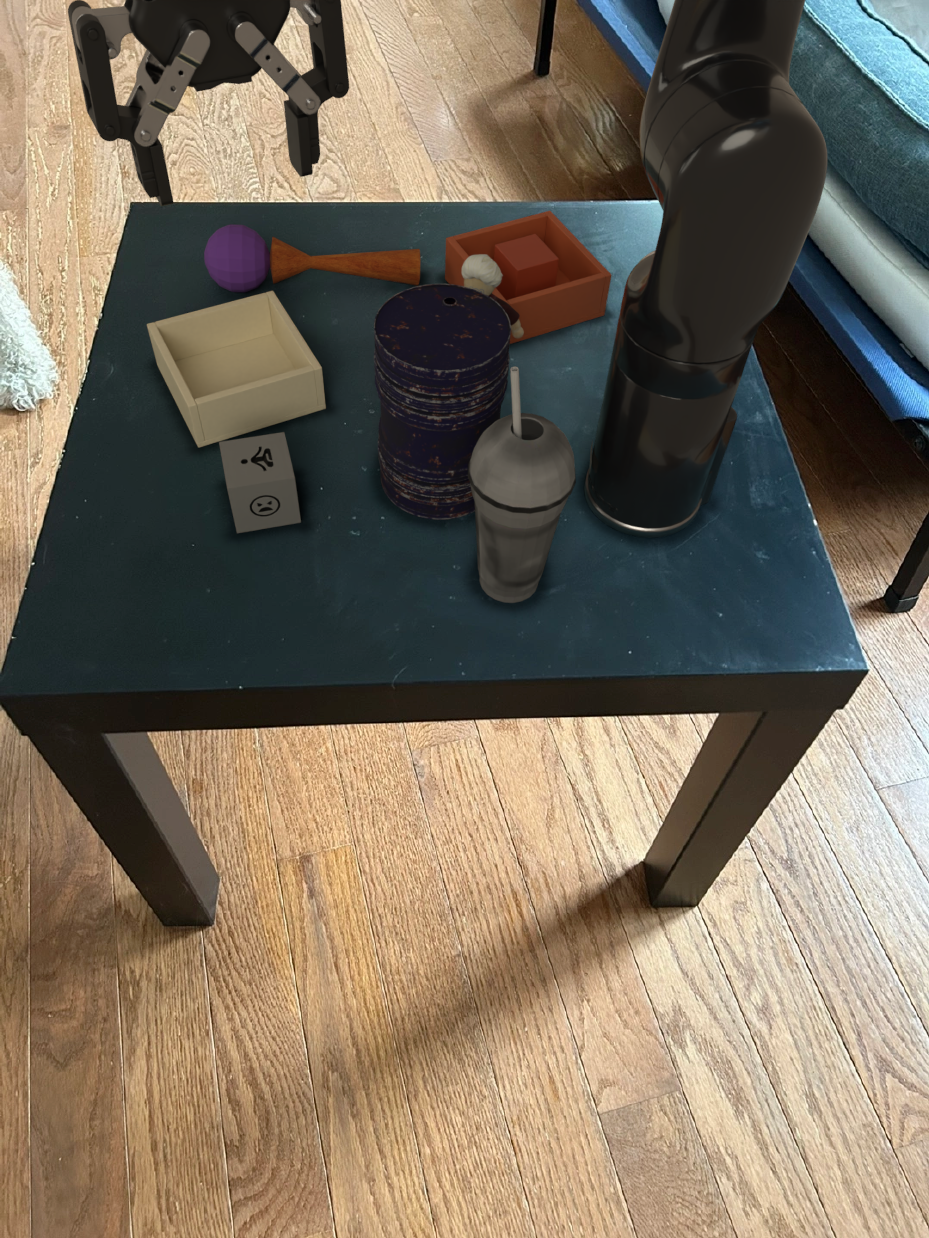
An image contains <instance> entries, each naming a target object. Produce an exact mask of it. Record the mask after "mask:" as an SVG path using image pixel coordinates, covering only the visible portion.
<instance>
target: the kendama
mask: <svg viewBox="0 0 929 1238" xmlns="http://www.w3.org/2000/svg"><path fill="white" fill-rule="evenodd" d="M203 255H204V256H203V258H204V265H205V267H206V270H207V272H208V274H209V276H210V278H211V279H212V280H213V281H214V282H215V283H216V284H217V285H218V286H219V287H220V288H223V289H225V290H227V291H229V292H231V293H243V294H244V293H248V292H250V291H252V290H255V289H258V288H259V287H260V286H261V285H262V284H263V282H264V281H266V279H267V277H268V274H269V272H270V273H271V279H272V284H273V285H275V284H278V283H280V282H282V281H285V280H286V279H289V278H291V277H295V276H297V275H298V274H301V273H303V272H305V271H308V270H310V269H312V270H319V271H323V272H324V271H326V272H330V273H331V272H332V273H337V274H342V275H349V276H356V277H363V278H367V279H368V278H369V279H375V280H381V281H387V282H391V283H393V282H394V283H399V284H406V285H411V286H420V280H421V250H420V248H411V249H397V250H396V249H395V250H382V251H380V250H379V251H367V252H365V251H364V252H351V253H350V252H349V253H337V254H323V255H322V254H321V255H310V254H307V253H306V252H304V251H301V250H300V249H298V248H296V247H294V246H292V245H290V244H288V243H286V242H284V241H283V240H280V239H279V238H277V237H275V236H272V237H271V244H270V250H269V248H268V245H267V243H266V240H265V239H264V238H263V237H262V236H261V235H260V234H259V233H258V232H257V231H256V230H255V229H253V228H251V227H248V226H247V225H244V224H232V223H231V224H227V225H225V226H224V225H223V226H222V227H220V228H218V229H216V230H215V231H214V232H213V233H212V234H211V236H210V237H209V238H208V240H207V242H206V245H205V248H204V254H203Z"/></svg>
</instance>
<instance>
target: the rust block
mask: <svg viewBox="0 0 929 1238" xmlns="http://www.w3.org/2000/svg"><path fill="white" fill-rule="evenodd" d="M494 261H495V262H496V263H497V265H498V266H499V268H500V270H501V273H502V275H503V276H502V280H501V283H500V284H499V285H498V286H497V287H496V289H497V290H498V291H499V292H500V294H501V295H502V296H503V297H504V298H505V300H506V301H507V300H509V299H513V298H516V297H520V296H523V295H526V294H530V293H533V292H537V291H540V290H544V289H547V288H551V287H554V286H555V284H556V276H557V269H558V261H559V259H558V257H557V256H556V255H555V254H554V253H553V252H552V251H551V250H550V249H549V248H548V247H547V246H546V245H545V244H544V242H543V241H542V240H541V239H540V238H539V237H538V236H537V235H536V234H533V235H529V236H526V237H522V238H518V239H515V240H511V241H507V242H504V243H500V244H496V245H495V253H494Z"/></svg>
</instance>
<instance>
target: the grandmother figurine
mask: <svg viewBox="0 0 929 1238" xmlns="http://www.w3.org/2000/svg"><path fill="white" fill-rule="evenodd" d="M462 276H463V278H464V287H468V288H471V289H475V290H477V291H479V292H482V293H484V294H486V295H487V296H489V297H491V298H492V299H494V300H495V301H496V302H497V303H499V305H500V306H501V307H502V308H503V309H504V310H505V312H506V313H507V315H508V317H509V320H510V324H511V333H512V335H513V337H514V338H517V339H518V338H521V337H522V336H523V334H524V331H523V329H522V327H521V323H520V321H519V317H520V315H519V313H518V312H516V311H515V310H514V309H513V308H512V307H511V306H510V305H509V304H508V303H507V302H505V301H503V300H502V299H500V298H498V297H496V296H495V295H494V294H492V292H493V290H494V288H496V287H497V286H498V285H499V284H500V283H501V280H502V276H503V275H502V273H501V270H500V268H499V266H498V265H497V263H496V262H495V261H493V260H492V259H491V258H490V257H489V256H488V255H486V254H478V255H471V256H469V257H468V258H467V259H466V260H465V262H464V263H463V266H462Z"/></svg>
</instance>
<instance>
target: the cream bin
mask: <svg viewBox="0 0 929 1238" xmlns="http://www.w3.org/2000/svg"><path fill="white" fill-rule="evenodd" d="M146 327H147V332H148V335H149V339H150V342H151V346H152V350H153V355H154V357H155V358H154V359H155V362H156V365H157V368H158V370H159V372H160V374H161V376H162V377H163V380H164V382H165V384H166V385H167V388H168V390H169V392H170V394H171V396H172V398H173V400H174V402H175V404H176V406H177V408H178V410H179V412H180V414H181V416H182V418H183V420H184V422H185V424H186V426H187V428H188V430H189V432H190V435H191V436H192V438H193V440H194V442H195V444H196V446H197V448H203V447H206V446H209V445H212V444H215V443H219V442H223V441H226V440H228V439H232V438H235V437H238V436H241V435H244V434H248V433H251V432H254V431H258V430H261V429H264V428H267V427H271V426H274V425H277V424H280V423H283V422H286V421H287V422H288V421H290V420H293V419H296V418H300V417H303V416H307V415H309V414H313V413H316V412H319V411H323V410H326V409H327V404H326V395H325V385H324V375H323V374H324V373H323V367H322V366H321V364H320V362H319V360H318V359H317V357H316V356H315V355H314V352H313V351H312V350H311V348H310V346H309V345H308V343H307V342H306V340H305V339H304V337H303V335H302V333H301V332H300V331H299V329H298V328H297V326H296V325H295V323H294V321H293V320H292V318H291V316H290V315H289V313H288V312H287V310H286V309H285V307H284V306H283V304H282V303H281V301H280V299H279V298H278V296H277V294H276V293H275V291H274V290H269V291H266V292H263V293H259V294H254V295H251V296H247V297H244V298H239V299H235V300H232V301H228V302H224V303H220V304H217V305H213V306H210V307H205V308H202V309H198V310H195V311H190V312H188V313H187V312H186V313H183V314H179V315H175V316H172V317H167V318H164V319H160V320H156V321H153V322H149V323H146Z"/></svg>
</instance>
